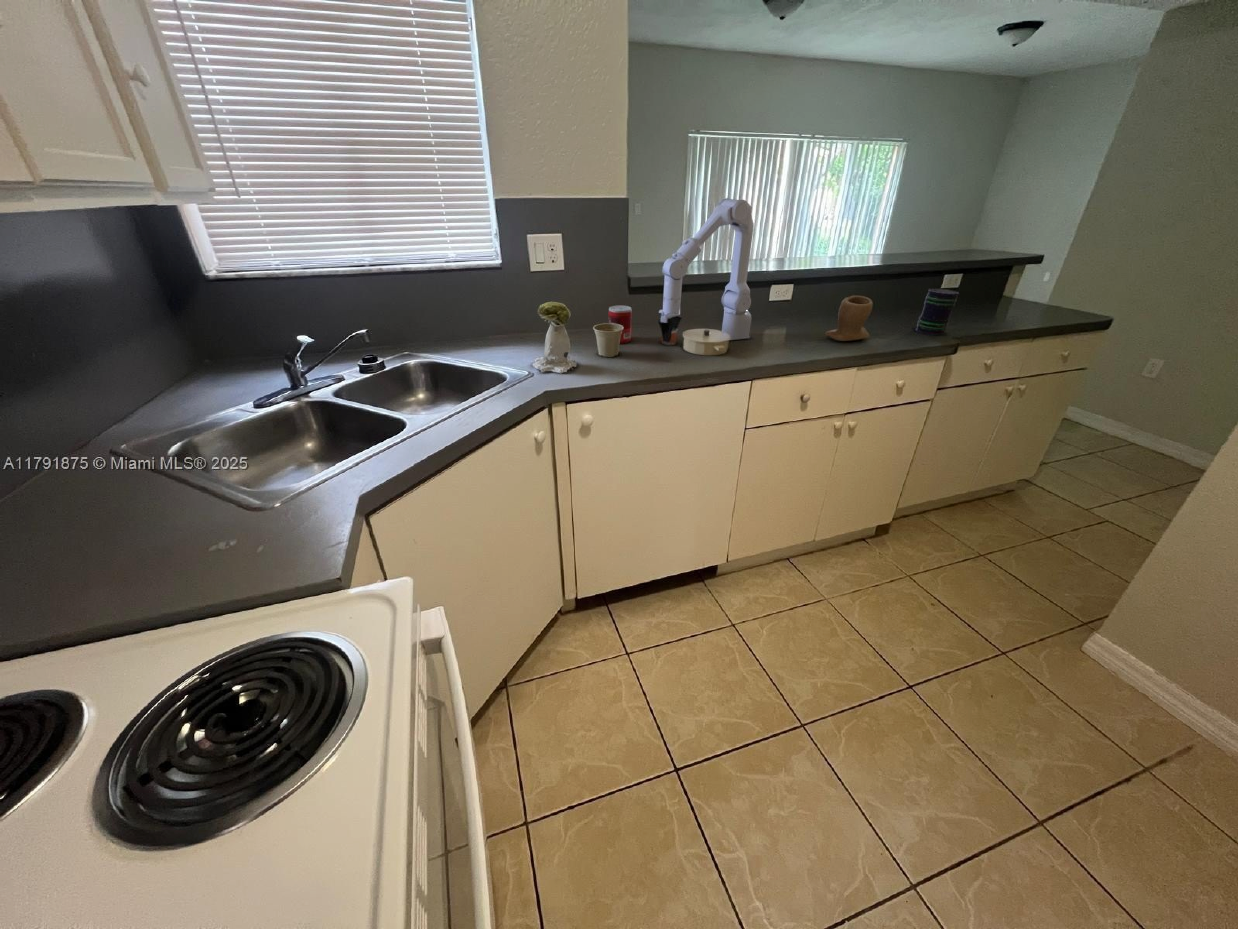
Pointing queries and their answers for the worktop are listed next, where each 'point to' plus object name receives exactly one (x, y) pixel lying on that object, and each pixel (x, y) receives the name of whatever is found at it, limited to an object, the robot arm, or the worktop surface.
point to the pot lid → (706, 336)
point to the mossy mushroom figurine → (555, 339)
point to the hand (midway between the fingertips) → (669, 339)
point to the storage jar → (936, 311)
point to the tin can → (672, 339)
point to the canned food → (621, 320)
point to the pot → (705, 347)
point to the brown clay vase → (852, 319)
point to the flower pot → (608, 338)
